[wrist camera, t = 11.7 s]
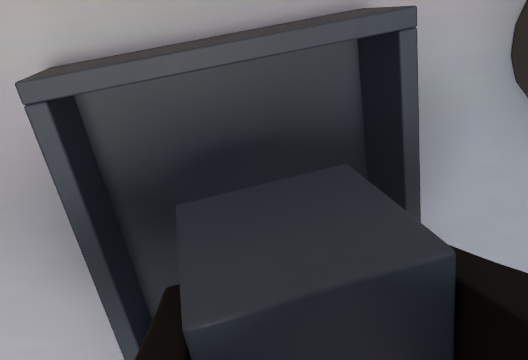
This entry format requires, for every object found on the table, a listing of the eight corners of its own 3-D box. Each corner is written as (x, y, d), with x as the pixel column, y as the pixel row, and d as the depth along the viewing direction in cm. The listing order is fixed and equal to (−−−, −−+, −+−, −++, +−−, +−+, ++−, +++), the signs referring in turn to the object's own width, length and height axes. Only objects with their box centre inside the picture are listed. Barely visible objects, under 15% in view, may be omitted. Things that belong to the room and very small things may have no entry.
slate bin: (381, 261, 20) (423, 309, 16) (142, 329, 18) (138, 395, 15) (364, 7, 15) (417, 5, 12) (48, 67, 14) (13, 82, 11)
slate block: (360, 299, 13) (454, 436, 8) (213, 343, 12) (238, 512, 8) (347, 161, 11) (458, 249, 7) (174, 204, 10) (181, 329, 6)
